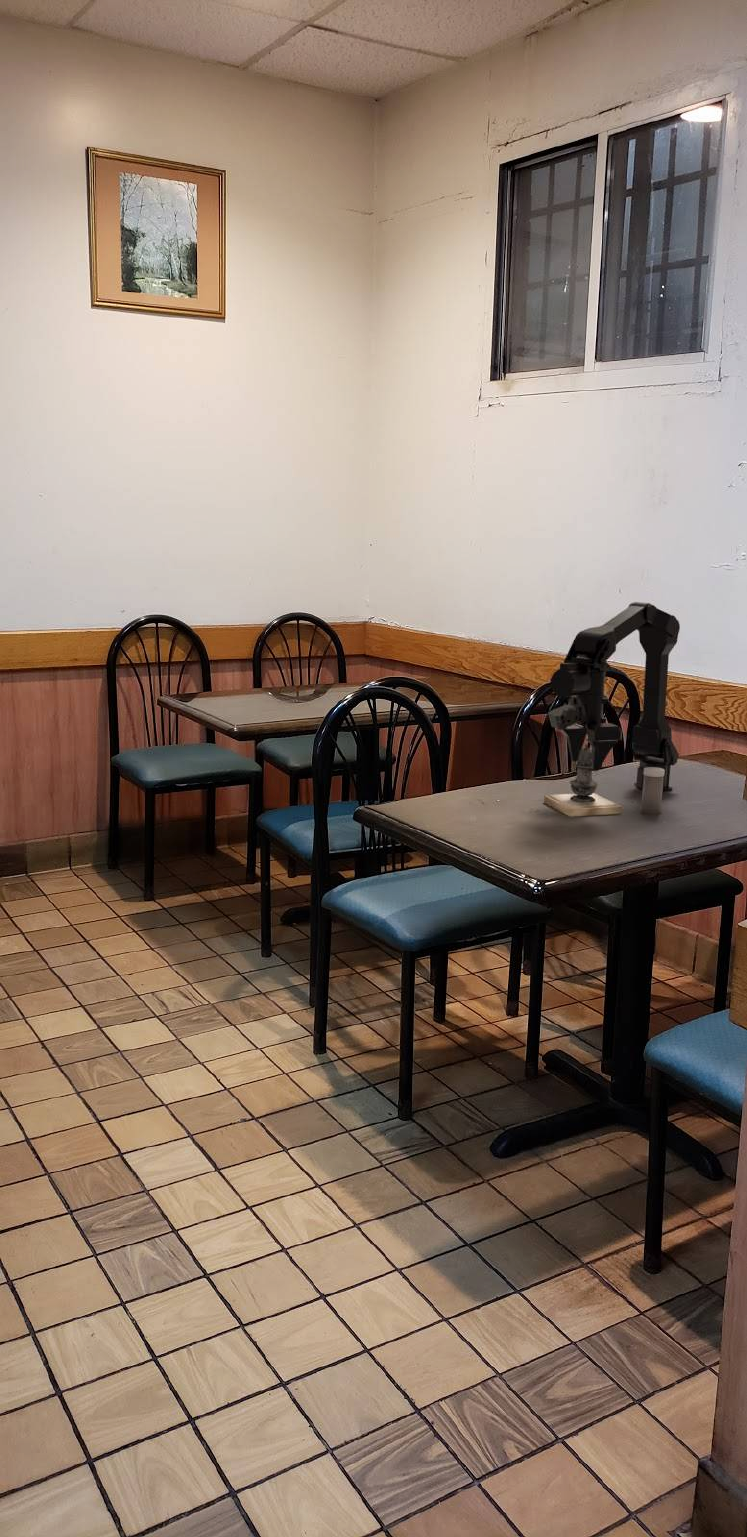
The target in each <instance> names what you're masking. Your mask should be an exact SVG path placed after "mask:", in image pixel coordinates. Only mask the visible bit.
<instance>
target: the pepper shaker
mask: <svg viewBox="0 0 747 1537" xmlns="http://www.w3.org/2000/svg"><path fill="white" fill-rule="evenodd" d="M664 771H665V770H664V769H662V768H657V767H646V768H644V781H643V789H642V794H641V807H640V809H641V810H640V812H641V813H644V814H646V815H659V814H661V810H662V802H663V801H662V800H663V799H662V798H663V791H662V789H663V777H664Z"/></svg>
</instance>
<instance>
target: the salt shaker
mask: <svg viewBox="0 0 747 1537" xmlns="http://www.w3.org/2000/svg"><path fill="white" fill-rule="evenodd" d="M577 762H578V763H577V764H575V765H576V767H577V772H576V778H574V780H573V779H572V780H570V781H569V784H570V788H571V791H572V792H573V794H577V795H574V796H572V797H571V798H570V799H571V800H572V801H575V802H582V803H590V802H595V799H594V798H593V797H591V796H588V795H592V794H593V793H595V792H596V790H597V787H598V785H599V783H597V781H594V780H593V777H592V776H593V775H592V774H593V766H592V748H589V745H588V744H587V743H585V745H584V747H582V749H581V750H580V751H579V758H578V761H577Z"/></svg>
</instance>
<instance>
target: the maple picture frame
mask: <svg viewBox="0 0 747 1537" xmlns="http://www.w3.org/2000/svg"><path fill="white" fill-rule="evenodd" d="M574 795H577V794H575V793H563V794H562V793H560V794H549V795H544V797H543V803H544V804H546V805H548V806H550V807H551V806H552V808H553V809H555V810H557V811H558V812H561V814H564V815H566V816H568V817H586V816H587V817H588V816H589V817H590V816H600V815H601V816H602V815H606V816H607V815H619V814H622V812H623V810H622V808H623V806H621V805H620V804H617V802H613V801H612V800H609V799H607V798H605V797H603V796H601V795H599V794H597V793H595V792H594V793H593V794H592V795H588V796H591V797H593V798H594V799H595V802H590V803H582V802H575V801H572V800H571V799H570V798H571V797H572V796H574Z"/></svg>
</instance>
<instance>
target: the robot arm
mask: <svg viewBox="0 0 747 1537" xmlns="http://www.w3.org/2000/svg"><path fill="white" fill-rule="evenodd" d="M680 628H681V625H680V621H679V619H677V618H676V616H675V615H672V614H670V613H668V612H665V611H664V610H661V609H659V608H657V607H656V605H654V604H652V603H650V602H640V601H639V602H638V601H634V602H631V603H630V604H628V606H627V607H626V608H625V609H624V610H622V611H620V613H618V614H616V615H615V616H614V617H612V618H611V619H609V620H607V622H605V623H604V624H602V625H599V626H594V627H589V628H586V629H584V630H581V631H579V632H578V633H577V634H576V636H575V638H574V639H573V641H572V643H571V645H570V648H569V649H568V652H567V654H566V656H565V658H564V660H563V662H561V663H560V662H559V669H557V670H555V671H554V672H553V674H552V676H551V678H550V683H549V684H550V688H551V691H552V692H553V693H554V695H555V696H557V697H559V698H568V697H570V699H569V700H570V701H569V703H567V704H565V705H562V706H559V707H556V708H554V709H552V710H550V711H548V712H547V713H548V714H547V715H548V718H549V721H550V725H551V728H556V729H557V730H558V731H560V732H561V733H562V734H564V736H565V737H566V741H567V744H568V749H569V754H570V758H571V761H572V762H573V763H574V762H578V760H579V751H580V750H581V749H583V746H584V742H585V741H587V742H588V744H589V745H590V746H591V750H592V766H593V768H592V772H598V771H599V770H600V769H601V767H602V765H603V763H604V762H605V760H606V759H607V756H608V755H609V753H610V751H611V750H612V748H613V747H614V745H615V744H618V742H619V741H621V740H622V739H623V738H622V737H623V730H622V728H621V727H620V726H618V725H616V724H613V723H609V722H608V723H607V718H606V717H603V711H604V704H605V705H606V704H608V698H607V697H604V696H605V683H606V682H605V680H606V672H607V671H610V670H611V669H612V666H611V665H610V664H609V663H608V662H607V660H608V659H609V660H610V658H611V656H612V655H614V654H615V653H616V651H617V644H619V643H620V642H621V641H623V640H624V639H625V638H626V637H628V636H630V635H631V634H633V633H634V632H635V631H637V632H638V641H639V643H640V645H641V647H642V649H643V651H644V653H645V664H644V682H643V684H644V685H643V699H642V700H643V701H642V702H643V703H642V717H641V719H640V720H639V722H638V723H637V725H634V726H633V727H632V738H631V745H632V754H633V760H634V761H639V766H638V767H637V769H636V770H637V772H636V773H637V774H636V782H634V786H636V787H638V788H639V789H641V790H643V781H644V768H646V767H657V768H662V769H664V770H665V771H664V777H663V789H662V792H664V791H673V787H672V786H670V778H671V766H676V764H677V763H678V759H679V755H680V754H679V751H678V750H677V749H676V747H675V745H674V743H673V738H672V737H673V736H672V728H671V727H670V725H669V723H668V721H667V720H666V710H667V709H666V707H667V706H666V705H667V693H668V692H667V690H668V674H669V671H668V670H669V655H670V653H671V652H672V651H673V649H674V648H675V646H676V645H677V644H678V638H679V634H680V631H681V630H680Z"/></svg>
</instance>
